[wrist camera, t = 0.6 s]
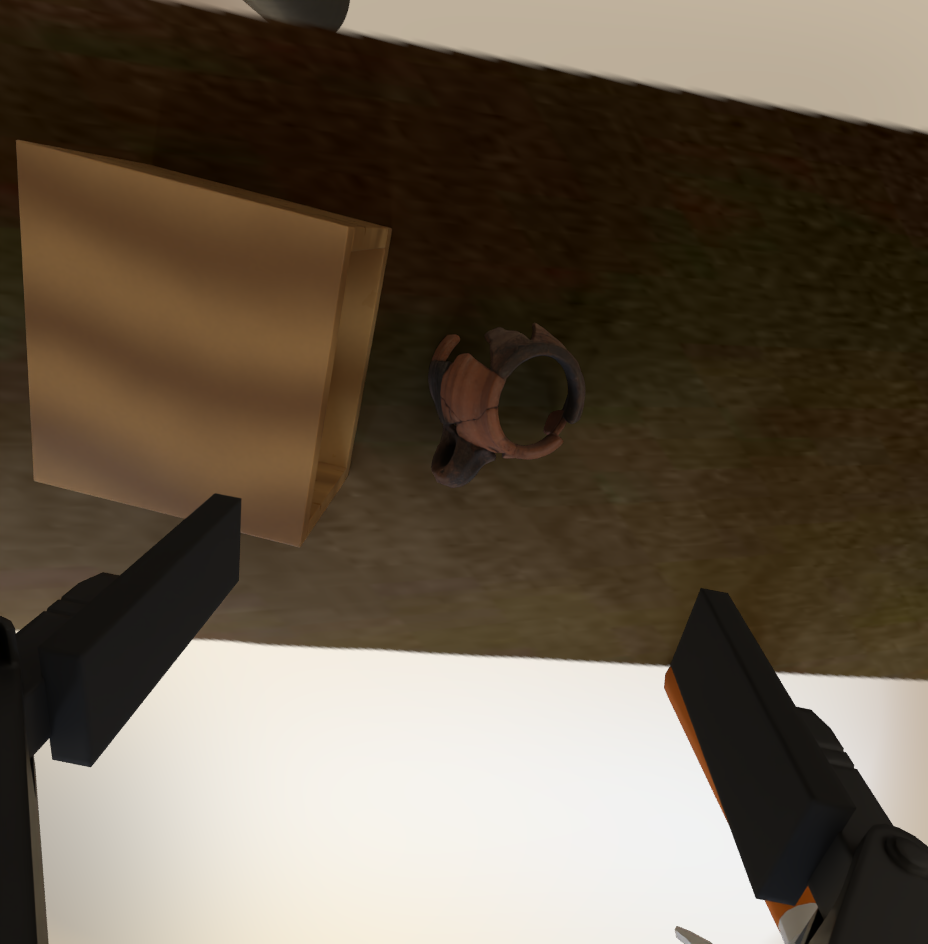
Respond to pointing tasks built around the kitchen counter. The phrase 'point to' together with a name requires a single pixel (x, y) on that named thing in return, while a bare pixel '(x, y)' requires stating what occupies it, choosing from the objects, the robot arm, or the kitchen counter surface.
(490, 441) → the pottery mug
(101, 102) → the kitchen counter surface
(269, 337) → the tan open box
